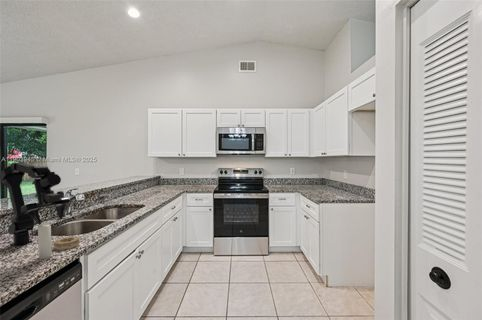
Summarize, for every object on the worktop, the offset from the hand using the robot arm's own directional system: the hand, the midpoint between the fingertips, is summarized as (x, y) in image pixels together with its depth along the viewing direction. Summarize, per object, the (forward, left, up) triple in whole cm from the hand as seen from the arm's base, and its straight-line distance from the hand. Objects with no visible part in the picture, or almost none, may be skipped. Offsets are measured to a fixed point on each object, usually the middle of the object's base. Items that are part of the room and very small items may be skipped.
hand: (50, 221), depth 117 cm
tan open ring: (+2, +7, -14) cm, 15 cm away
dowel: (+5, -6, -14) cm, 16 cm away
